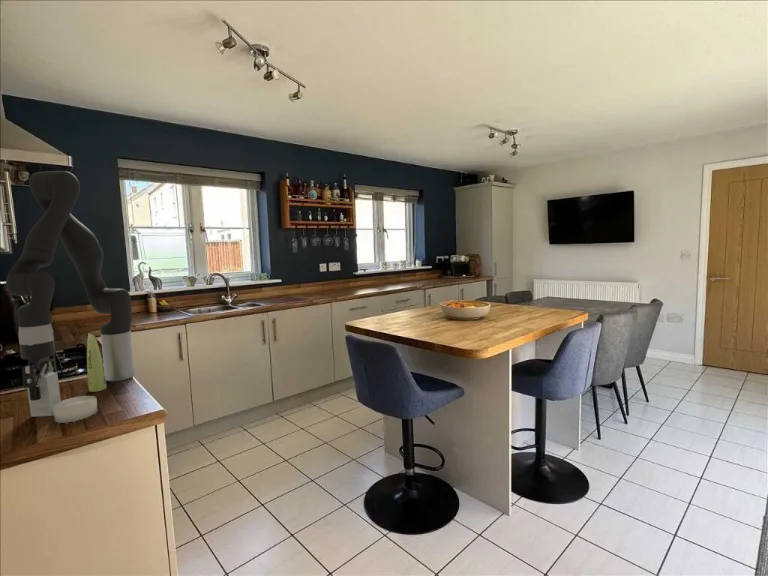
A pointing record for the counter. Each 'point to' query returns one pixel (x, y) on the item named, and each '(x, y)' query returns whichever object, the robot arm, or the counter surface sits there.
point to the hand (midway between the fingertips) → (42, 394)
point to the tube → (95, 366)
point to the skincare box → (46, 396)
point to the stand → (75, 409)
